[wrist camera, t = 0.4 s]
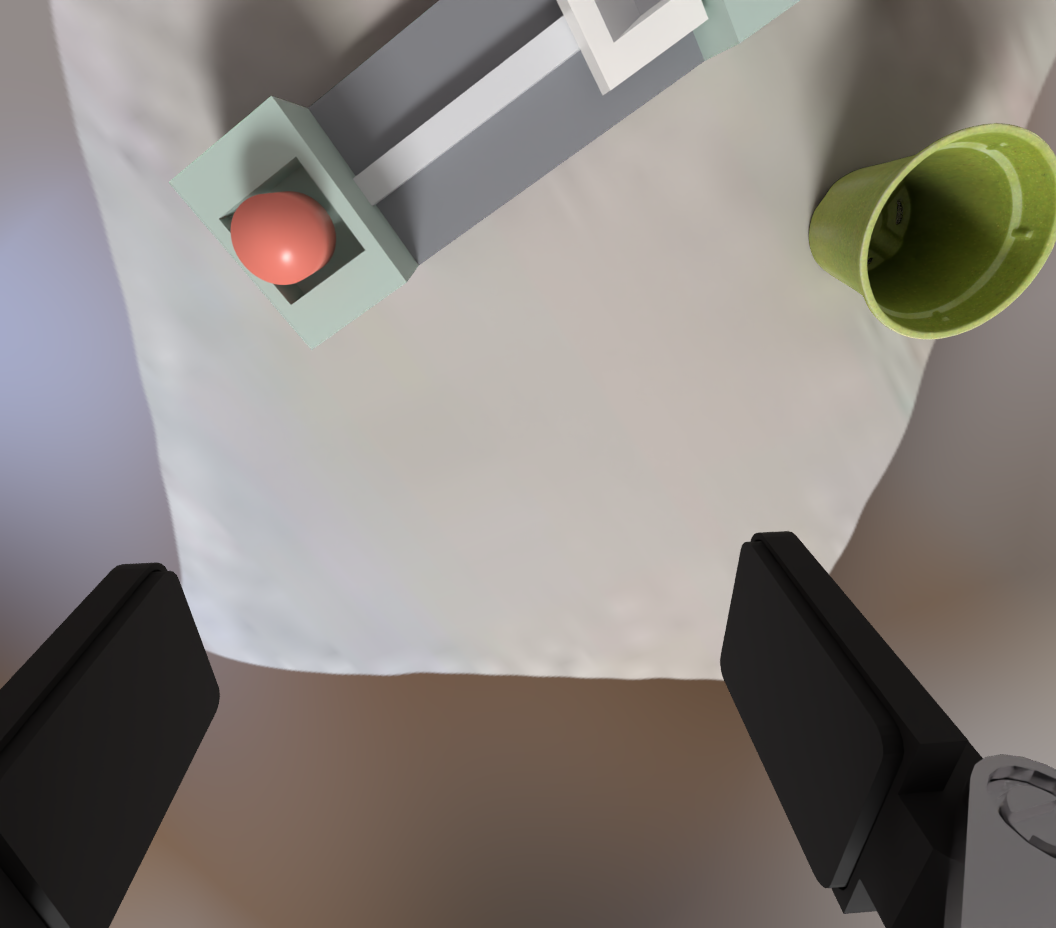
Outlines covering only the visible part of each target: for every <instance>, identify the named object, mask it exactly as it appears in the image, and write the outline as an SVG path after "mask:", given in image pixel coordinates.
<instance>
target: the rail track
mask: <svg viewBox="0 0 1056 928" xmlns="http://www.w3.org/2000/svg"><path fill="white" fill-rule="evenodd" d="M701 1H702V3H703V6H704V9H705V11H706V14H707V16H708V20H706V21H705V22H704V23H702V24H701V25H700V26H698V27H697V28H695V29H694V30H693V31H691V32H690V33H689V34H687V35H686V36H685V37H683V38H682V39H680V40H679V41H678V42H676V43H675V44H674V45H672V46H671V47H669V48H668V49H667V50H665V51H664V52H663V53H661V54H660V55H659V56H657V57H656V58H654V59H653V60H652V61H650V62H649V63H648V64H646V65H645V66H643V67H642V68H641V69H639V70H638V71H637V72H635V73H634V74H633V75H631V76H630V77H628V78H627V79H626V80H624V81H623V82H622V83H620V84H619V85H617V86H616V87H615V88H613V89H612V90H611V91H609V92H607V93H606V94H604V95H602V93H601V91H600V89H599V87H598V85H597V83H596V81H595V79H594V77H593V75H592V73H591V71H590V69H589V66H588V64H587V62H586V60H585V58H584V56H583V54H582V52H581V50H580V48H579V46H578V44H577V42H576V40H575V38H574V36H573V33H572V31H571V29H570V27H569V25H568V23H567V21H566V19H565V17H564V15H563V13H562V11H561V9H560V7H559V5H558V3H557V0H439V1H438V2H436V3H435V4H434V5H433V6H432V7H430V8H429V9H428V10H427V11H425V12H424V13H423V14H422V15H421V16H419V17H418V18H417V19H416V20H415V21H413V22H412V23H411V24H410V25H408V26H407V27H406V28H405V29H404V30H402V31H401V32H400V33H399V34H397V35H396V36H395V37H394V38H393V39H391V40H390V41H389V42H388V43H387V44H385V45H384V46H383V47H382V48H380V49H379V50H378V51H377V52H376V53H374V54H373V55H372V56H371V57H370V58H368V59H367V60H366V61H365V62H363V63H362V64H361V65H360V66H359V67H357V68H356V69H355V70H354V71H353V72H351V73H350V74H349V75H348V76H346V77H345V78H344V79H343V80H342V81H340V82H339V83H338V84H337V85H335V86H334V87H333V88H332V89H331V90H329V91H328V92H327V93H326V94H325V95H323V96H322V97H321V98H320V99H318V100H317V101H316V102H315V103H314V104H312V105H311V106H310V107H309V108H306V107H303V106H300V105H297V104H294V103H291V102H288V101H285V100H282V99H280V98H277V97H274V96H270V97H269V98H268V99H267V100H266V101H265V102H263V103H262V104H261V105H260V106H259V107H257V108H256V109H255V110H254V111H253V112H251V113H250V114H249V115H248V116H247V117H246V118H244V119H243V120H242V121H241V122H240V123H238V124H237V125H236V126H235V127H234V128H232V129H231V130H230V131H229V132H228V133H227V134H225V135H224V136H223V137H222V138H221V139H219V140H218V141H217V142H216V143H215V144H213V145H212V146H211V147H210V148H209V149H208V150H206V151H205V152H204V153H203V154H202V155H200V156H199V157H198V158H197V159H196V160H194V161H193V162H192V163H191V164H190V165H189V166H187V167H186V168H185V169H184V170H183V171H181V172H180V173H179V174H178V175H177V176H175V177H174V178H173V179H172V180H171V181H170V182H169V184H170V185H171V186H172V187H173V188H174V190H175V191H176V192H177V193H178V194H179V195H180V197H181V198H182V199H183V200H184V201H185V202H186V204H187V205H188V206H189V207H190V208H191V209H192V211H193V212H194V213H195V214H196V215H197V216H198V218H199V219H200V220H201V221H202V222H203V223H204V225H205V226H206V227H207V228H208V229H209V231H210V232H211V233H212V234H213V235H214V236H215V238H216V239H217V240H218V241H219V242H220V243H221V245H222V246H223V247H224V248H225V249H226V250H227V252H228V253H229V254H230V255H231V256H232V257H233V259H234V260H235V261H236V262H237V263H238V265H239V266H240V267H241V268H242V269H243V270H244V272H245V273H246V274H247V275H248V276H249V277H250V279H251V280H252V281H253V282H254V283H255V284H256V286H257V287H258V288H259V289H260V290H261V291H262V293H263V294H264V295H265V296H266V297H267V299H268V300H269V301H270V302H271V303H272V304H273V306H274V307H275V308H276V309H277V310H278V311H279V313H280V314H281V315H282V316H283V317H284V318H285V320H286V321H287V322H288V323H289V324H290V325H291V327H292V328H293V329H294V330H295V331H296V332H297V334H298V335H299V336H300V337H301V338H302V340H303V341H304V342H305V343H306V344H307V345H308V347H309V348H310V349H311V350H312V349H314V348H315V347H317V346H318V345H319V344H321V343H322V342H324V341H325V340H326V339H328V338H329V337H331V336H332V335H333V334H335V333H336V332H338V331H339V330H340V329H342V328H343V327H345V326H346V325H347V324H349V323H350V322H352V321H353V320H354V319H356V318H357V317H359V316H360V315H362V314H363V313H364V312H366V311H367V310H369V309H370V308H371V307H373V306H374V305H376V304H377V303H378V302H380V301H381V300H383V299H384V298H385V297H387V296H388V295H390V294H391V293H392V292H394V291H395V290H397V289H398V288H399V287H401V286H402V285H404V284H405V283H406V282H407V281H408V280H409V278H410V277H411V276H412V274H413V273H414V271H415V270H416V268H417V267H418V266H419V265H420V264H421V263H423V262H424V261H426V260H427V259H428V258H430V257H431V256H433V255H434V254H435V253H437V252H438V251H439V250H441V249H442V248H444V247H445V246H446V245H448V244H449V243H451V242H452V241H453V240H455V239H456V238H458V237H459V236H460V235H462V234H463V233H465V232H466V231H467V230H469V229H470V228H472V227H473V226H474V225H476V224H477V223H479V222H480V221H481V220H483V219H484V218H486V217H487V216H488V215H490V214H491V213H493V212H494V211H495V210H497V209H498V208H500V207H501V206H502V205H504V204H505V203H507V202H508V201H509V200H511V199H512V198H514V197H515V196H516V195H518V194H519V193H521V192H522V191H523V190H525V189H526V188H528V187H529V186H530V185H532V184H533V183H535V182H536V181H537V180H539V179H540V178H542V177H543V176H544V175H546V174H547V173H549V172H550V171H551V170H553V169H554V168H556V167H557V166H558V165H560V164H561V163H562V162H564V161H565V160H567V159H568V158H569V157H571V156H572V155H574V154H575V153H576V152H578V151H579V150H581V149H582V148H583V147H585V146H586V145H588V144H589V143H590V142H592V141H593V140H595V139H596V138H597V137H599V136H600V135H602V134H603V133H604V132H606V131H607V130H609V129H610V128H611V127H613V126H614V125H616V124H617V123H618V122H620V121H621V120H623V119H624V118H625V117H627V116H628V115H630V114H631V113H632V112H634V111H635V110H637V109H638V108H639V107H641V106H642V105H644V104H645V103H646V102H648V101H649V100H651V99H652V98H653V97H655V96H656V95H658V94H659V93H660V92H662V91H663V90H665V89H666V88H667V87H669V86H670V85H672V84H673V83H674V82H676V81H677V80H679V79H680V78H681V77H683V76H684V75H686V74H687V73H688V72H690V71H691V70H692V69H694V68H695V67H697V66H698V65H699V64H701V63H702V62H704V61H705V60H707V59H709V58H711V57H713V56H715V55H717V54H719V53H721V52H723V51H725V50H727V49H729V48H731V47H733V46H735V45H737V44H739V43H741V42H742V41H744V40H745V39H746V38H748V37H749V36H751V35H752V34H753V33H755V32H756V31H758V30H759V29H760V28H762V27H763V26H765V25H766V24H768V23H769V22H770V21H772V20H773V19H775V18H776V17H777V16H779V15H780V14H782V13H783V12H784V11H786V10H787V9H789V8H790V7H791V6H793V5H794V4H796V3H797V2H798V1H800V0H701ZM284 191H294V192H299V193H303V194H305V195H308V196H310V197H311V198H313V199H314V200H316V201H317V202H318V203H319V204H320V205H321V206H322V207H323V208H324V209H325V210H326V211H327V213H328V214H329V216H330V218H331V220H332V222H333V225H334V228H335V233H336V246H335V250H334V253H333V256H332V258H331V259H330V261H329V262H328V263H327V264H326V265H325V266H324V267H323V268H321V269H320V270H318V271H316V272H315V273H313V274H311V275H310V276H308V277H306V278H305V279H303V280H301V281H299V282H297V283H294V284H288V285H278V284H273V283H269V282H266V281H264V280H262V279H260V278H258V277H257V276H255V275H254V274H252V273H251V272H250V271H249V270H248V269H247V268H246V267H245V266H244V265H243V263H242V262H241V261H240V259H239V258H238V256H237V254H236V252H235V250H234V247H233V244H232V240H231V222H232V218H233V215H234V213H235V211H236V209H237V208H238V207H239V205H240V204H241V203H243V202H244V201H245V200H246V199H248V198H250V197H252V196H255V195H258V194H266V193H275V192H284Z"/></svg>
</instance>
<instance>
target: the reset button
mask: <svg viewBox="0 0 1056 928" xmlns="http://www.w3.org/2000/svg"><path fill="white" fill-rule="evenodd" d="M231 240H232V244H233V247H234V250H235V252H236V254H237V256H238V258H239V259H240V261H241V262H242V263H243V265H244V266H245V267H246V268H247V269H248V270H249V271H250V272H251V273H252V274H254V275H255V276H257V277H258V278H260V279H262V280H264V281H266V282H269V283H273V284H278V285H288V284H294V283H297V282H299V281H301V280H303V279H305V278H306V277H308V276H310V275H311V274H313V273H315V272H316V271H318V270H320V269H321V268H323V267H324V266H325V265H326V264H327V263H328V262H329V261H330V259H331V258H332V256H333V253H334V250H335V246H336V233H335V228H334V225H333V222H332V220H331V218H330V216H329V214H328V213H327V211H326V210H325V209H324V208H323V207H322V206H321V205H320V204H319V203H318V202H317V201H316V200H314V199H313V198H311V197H310V196H308V195H305V194H303V193H299V192H294V191H284V192H275V193H266V194H258V195H255V196H252V197H250V198H248V199H246V200H245V201H244V202H243V203H241V204H240V205H239V207H238V208H237V209H236V211H235V213H234V215H233V218H232V222H231Z"/></svg>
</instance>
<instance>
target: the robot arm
mask: <svg viewBox="0 0 1056 928" xmlns="http://www.w3.org/2000/svg"><path fill="white" fill-rule="evenodd" d="M720 666H721V672H722V676H723V679H724V681H725V683H726V685H727V688H728V690H729V692H730V694H731V696H732V698H733V700H734V703H735V705H736V707H737V709H738V711H739V714H740V716H741V718H742V720H743V722H744V724H745V726H746V729H747V731H748V733H749V735H750V737H751V739H752V742H753V743H754V746H755V748H756V750H757V752H758V754H759V757H760V759H761V761H762V763H763V765H764V767H765V770H766V772H767V774H768V776H769V778H770V780H771V783H772V785H773V787H774V789H775V791H776V793H777V795H778V798H779V800H780V802H781V804H782V806H783V809H784V811H785V813H786V815H787V817H788V819H789V821H790V824H791V826H792V828H793V830H794V832H795V834H796V836H797V839H798V841H799V843H800V845H801V847H802V850H803V852H804V854H805V856H806V858H807V860H808V862H809V865H810V867H811V869H812V871H813V873H814V875H815V877H816V879H817V880H818V882H819V883H820V884H821V885H822V886H823V887H824V888H832V890H833V893H834V895H835V897H836V899H837V901H838V903H839V905H840V907H841V909H842V911H843V913H844V914H848V913H860V912H872V911H877V912H878V914H879V916H880V918H881V920H882V922H883V924H884V925H885V927H886V928H1056V769H1054V768H1052V767H1050V766H1048V765H1046V764H1043V763H1040V762H1037V761H1033V760H1031V759H1028V758H1025V757H1020V756H1012V755H1004V754H1000V755H994V756H989V757H985V758H982V757H981V756H980V755H979V753H978V752H977V751H976V750H975V749H974V747H973V746H972V745H971V744H970V743H969V741H968V740H967V738H966V737H965V736H964V735H963V734H962V732H961V731H960V730H959V729H958V728H957V726H956V725H955V724H954V723H953V722H952V720H951V719H950V718H949V717H948V716H947V714H946V713H945V712H944V711H943V710H942V709H941V707H940V706H939V705H938V704H937V703H936V702H935V700H934V699H933V698H932V697H931V696H930V694H929V693H928V692H927V691H926V690H925V688H924V687H923V686H922V685H921V684H920V682H919V681H918V680H917V679H916V678H915V676H914V675H913V674H912V673H911V672H910V670H909V669H908V668H907V667H906V666H905V665H904V663H903V662H902V661H901V660H900V659H899V657H898V656H897V655H896V654H895V653H894V651H893V650H892V649H891V648H890V647H889V646H888V644H887V643H886V642H885V641H884V640H883V638H882V637H881V636H880V635H879V634H878V633H877V631H876V630H875V629H874V628H873V626H872V625H871V624H870V623H869V622H868V621H867V619H866V618H865V617H864V616H863V615H862V613H860V611H859V610H858V609H857V608H856V606H855V605H854V604H853V603H852V602H851V600H850V599H849V598H848V597H847V596H846V594H844V592H843V591H842V590H841V589H840V587H839V586H838V585H837V584H836V583H835V581H834V580H833V579H832V578H831V577H830V575H829V574H828V573H827V572H826V571H825V569H824V568H823V567H822V566H821V565H820V563H819V562H818V561H817V560H816V559H815V558H814V556H813V555H812V554H811V553H810V552H809V550H808V549H807V548H806V547H805V546H804V544H803V543H802V542H801V541H800V540H799V539H798V537H797V536H796V535H795V534H794V533H792V532H789V531H783V532H763V533H756V534H754V535H753V537H752V539H751V542H745V543H744V544H743V545H742V548H741V552H740V557H739V562H738V567H737V573H736V578H735V583H734V588H733V594H732V599H731V604H730V610H729V615H728V620H727V625H726V631H725V636H724V641H723V646H722V652H721V658H720ZM219 697H220V693H219V687H218V684H217V682H216V679H215V676H214V673H213V671H212V668H211V665H210V662H209V660H208V657H207V654H206V652H205V649H204V646H203V644H202V641H201V638H200V635H199V633H198V630H197V627H196V625H195V622H194V619H193V617H192V614H191V611H190V608H189V606H188V603H187V600H186V598H185V595H184V592H183V590H182V587H181V584H180V581H179V579H178V577H177V575H176V574H175V573H174V572H172V571H167V569H166V567H165V566H163V565H162V564H160V563H141V564H140V563H139V564H122V565H119V566H116V567H115V568H114V569H113V570H112V571H110V572H109V574H108V575H107V576H106V577H105V578H104V579H103V580H102V581H101V582H100V583H99V584H98V585H97V587H96V588H95V589H94V590H93V591H92V592H91V593H90V594H89V595H88V596H87V597H86V598H85V599H84V600H83V601H82V603H81V604H80V605H79V606H78V607H77V608H76V609H75V610H74V611H73V612H72V613H71V614H70V615H69V616H68V618H67V619H66V620H65V621H64V622H63V623H62V624H61V625H60V626H59V627H58V628H57V629H56V630H55V631H54V633H53V634H52V635H51V636H50V637H49V638H48V639H47V640H46V641H45V642H44V643H43V644H42V645H41V646H40V648H39V649H38V650H37V651H36V652H35V653H34V654H33V655H32V656H31V657H30V658H29V659H28V660H27V662H26V663H25V664H24V665H23V666H22V667H21V668H20V669H19V670H18V671H17V672H16V673H15V674H14V675H13V676H12V678H11V679H10V680H9V681H8V682H7V683H6V684H5V685H4V686H3V687H2V688H1V689H0V928H109V926H110V924H111V922H112V920H113V918H114V916H115V914H116V912H117V910H118V908H119V906H120V904H121V902H122V900H123V898H124V896H125V894H126V892H127V890H128V888H129V886H130V884H131V882H132V880H133V878H134V876H135V874H136V872H137V870H138V868H139V866H140V864H141V862H142V860H143V858H144V856H145V854H146V852H147V850H148V848H149V846H150V844H151V842H152V840H153V838H154V836H155V834H156V832H157V830H158V828H159V826H160V824H161V822H162V819H163V818H164V816H165V814H166V812H167V810H168V808H169V805H170V803H171V802H172V800H173V798H174V796H175V794H176V791H177V790H178V788H179V785H180V783H181V781H182V779H183V777H184V775H185V773H186V771H187V769H188V767H189V765H190V763H191V761H192V759H193V757H194V755H195V753H196V751H197V749H198V747H199V745H200V743H201V741H202V739H203V737H204V735H205V733H206V731H207V729H208V727H209V725H210V723H211V721H212V719H213V717H214V715H215V713H216V711H217V708H218V704H219Z"/></svg>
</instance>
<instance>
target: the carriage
mask: <svg viewBox="0 0 1056 928" xmlns="http://www.w3.org/2000/svg"><path fill="white" fill-rule="evenodd" d="M557 3H558V5H559V7H560V9H561V11H562V13H563V15H564V17H565V19H566V21H567V23H568V25H569V27H570V29H571V31H572V33H573V36H574V38H575V40H576V42H577V44H578V46H579V48H580V50H581V52H582V54H583V56H584V58H585V60H586V62H587V64H588V66H589V69H590V71H591V73H592V75H593V77H594V79H595V81H596V83H597V85H598V87H599V89H600V91H601V93H602V95H604V94H606V93H607V92H609V91H611V90H612V89H613V88H615V87H616V86H617V85H619V84H620V83H622V82H623V81H624V80H626V79H627V78H628V77H630V76H631V75H633V74H634V73H635V72H637V71H638V70H639V69H641V68H642V67H643V66H645V65H646V64H648V63H649V62H650V61H652V60H653V59H654V58H656V57H657V56H659V55H660V54H661V53H663V52H664V51H665V50H667V49H668V48H669V47H671V46H672V45H674V44H675V43H676V42H678V41H679V40H680V39H682V38H683V37H685V36H686V35H687V34H689V33H690V32H691V31H693V30H694V29H695V28H697V27H698V26H700V25H701V24H702V23H704V22H705V21H706V20H708V16H707V14H706V11H705V9H704V6H703V3H702V1H701V0H557Z"/></svg>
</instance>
